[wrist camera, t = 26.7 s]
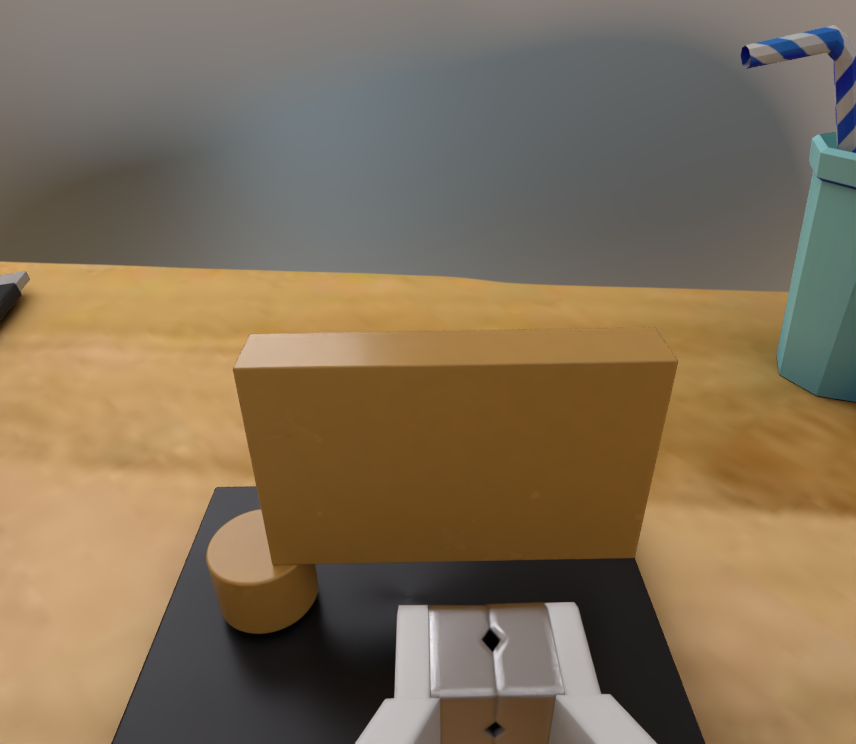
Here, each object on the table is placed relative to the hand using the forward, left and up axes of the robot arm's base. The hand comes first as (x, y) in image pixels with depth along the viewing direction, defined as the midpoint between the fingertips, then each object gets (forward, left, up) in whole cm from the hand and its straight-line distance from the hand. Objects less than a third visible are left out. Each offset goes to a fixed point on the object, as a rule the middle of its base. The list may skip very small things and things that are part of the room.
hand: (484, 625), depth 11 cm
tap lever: (+3, -4, -6) cm, 8 cm away
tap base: (+4, -4, -7) cm, 9 cm away
